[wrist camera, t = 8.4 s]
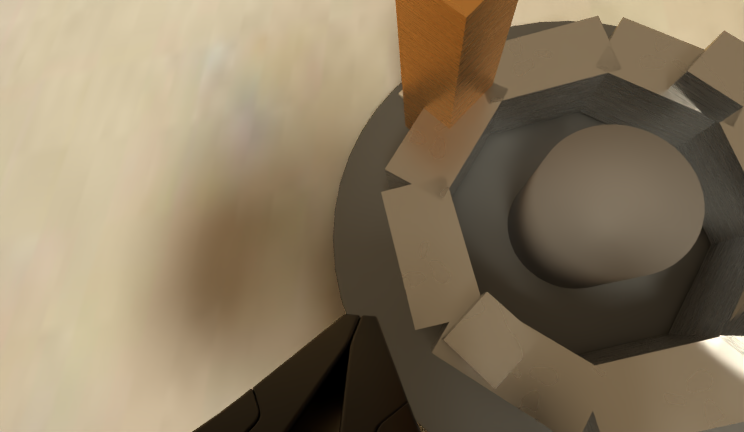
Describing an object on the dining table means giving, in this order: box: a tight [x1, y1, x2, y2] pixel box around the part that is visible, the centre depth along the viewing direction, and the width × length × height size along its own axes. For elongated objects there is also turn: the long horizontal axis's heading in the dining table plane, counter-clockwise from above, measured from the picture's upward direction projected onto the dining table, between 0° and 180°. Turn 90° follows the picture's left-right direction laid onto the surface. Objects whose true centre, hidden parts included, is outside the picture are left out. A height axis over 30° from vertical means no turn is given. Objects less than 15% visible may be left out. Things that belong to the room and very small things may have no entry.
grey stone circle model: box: [333, 21, 744, 432], centre depth 16 cm, size 20×20×6 cm
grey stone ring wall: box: [381, 0, 744, 432], centre depth 13 cm, size 15×14×9 cm
